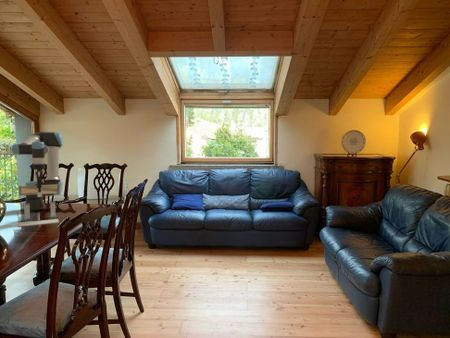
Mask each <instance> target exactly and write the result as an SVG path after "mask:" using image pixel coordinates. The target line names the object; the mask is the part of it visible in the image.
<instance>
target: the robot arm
mask: <svg viewBox="0 0 450 338" xmlns="http://www.w3.org/2000/svg"><path fill="white" fill-rule="evenodd" d="M63 146H64V141H63V136H62V134H61V132H56V131H51V132H50V131H38V132H37V131H36V132H33V133H32V134H29V135H28V136H27V137H26V139H24V140H23V141H22V142H21V143H15V144H12V145H11V152H12V154H13V155H18V156H20V155H21V156H22V155H23V156H24V155H28V156H29V155H30V156H32V157H31V161H32V170H36V171H35V176H36V180H33V181H27V182H25V185H24V186H35V185H37V187H36V188H37V193H38V194H36V195H25V202H24V204H23V206H24V205H25V204H27V203H30V212H31V211H41V210H45V208H46V205H45V202H44V200H43V197H56V196H60V195H61V194H62V192H63V186H64V185H63V184H64V183H63V182H62V181H61V179H60V177H59V176H60V175H59V171H60V168H59V167H60V163H59V160H60V157H59V155H60V150H61V149H62V147H63ZM45 157H46V158H45ZM45 163H46V164H45ZM45 169H46V178H45V179H44V181H43V180H42V178H43V171H42V170H45ZM56 184H59V193H53V194H42V188H41V187H42V186H41V185H56Z"/></svg>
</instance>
